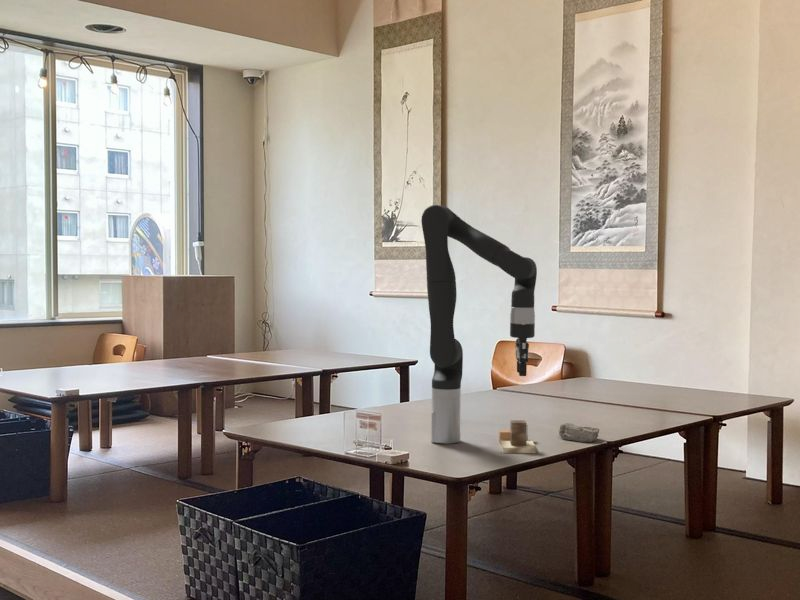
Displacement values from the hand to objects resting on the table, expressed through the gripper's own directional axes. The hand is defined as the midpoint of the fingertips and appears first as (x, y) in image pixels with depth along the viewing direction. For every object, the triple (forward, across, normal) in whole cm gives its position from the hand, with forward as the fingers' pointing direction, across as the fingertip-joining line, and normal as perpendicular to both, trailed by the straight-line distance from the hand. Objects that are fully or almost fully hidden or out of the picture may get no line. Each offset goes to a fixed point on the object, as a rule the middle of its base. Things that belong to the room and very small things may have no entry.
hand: (521, 374), depth 284 cm
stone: (+23, -15, +20) cm, 34 cm away
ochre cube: (+23, -6, -4) cm, 24 cm away
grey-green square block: (+23, -11, +1) cm, 25 cm away
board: (+23, +3, -1) cm, 23 cm away
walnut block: (+21, +3, -1) cm, 22 cm away
